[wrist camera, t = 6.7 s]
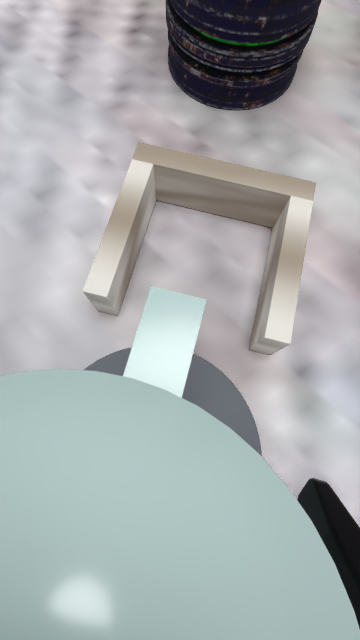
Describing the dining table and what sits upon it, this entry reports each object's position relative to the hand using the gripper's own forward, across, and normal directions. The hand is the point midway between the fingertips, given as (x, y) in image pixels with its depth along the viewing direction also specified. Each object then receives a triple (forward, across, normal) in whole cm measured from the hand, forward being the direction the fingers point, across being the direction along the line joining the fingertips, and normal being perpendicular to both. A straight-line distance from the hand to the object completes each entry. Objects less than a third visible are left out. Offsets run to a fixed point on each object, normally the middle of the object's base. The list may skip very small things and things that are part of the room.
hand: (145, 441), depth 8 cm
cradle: (+12, 0, -2) cm, 12 cm away
